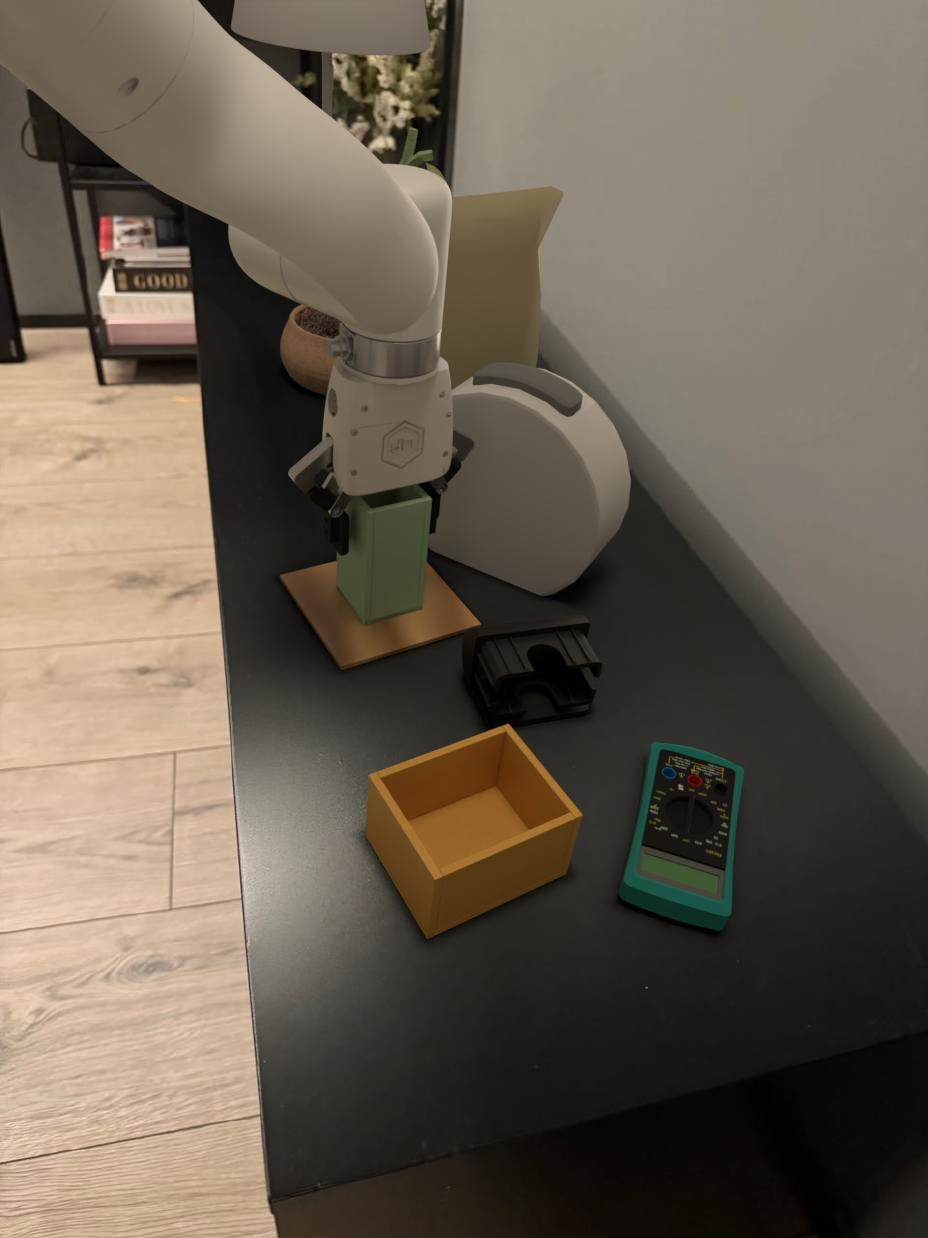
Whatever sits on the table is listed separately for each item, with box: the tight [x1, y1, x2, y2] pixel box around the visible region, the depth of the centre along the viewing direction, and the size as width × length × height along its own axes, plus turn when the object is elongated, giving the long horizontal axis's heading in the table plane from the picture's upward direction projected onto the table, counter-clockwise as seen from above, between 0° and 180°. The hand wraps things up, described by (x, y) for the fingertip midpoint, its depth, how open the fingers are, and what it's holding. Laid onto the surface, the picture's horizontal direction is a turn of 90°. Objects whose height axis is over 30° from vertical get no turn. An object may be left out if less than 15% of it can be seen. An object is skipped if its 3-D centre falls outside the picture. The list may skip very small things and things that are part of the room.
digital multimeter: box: [618, 741, 745, 931], centre depth 67 cm, size 7×15×3 cm, turn 163°
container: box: [440, 185, 564, 391], centre depth 99 cm, size 24×17×30 cm
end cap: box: [461, 614, 603, 730], centre depth 77 cm, size 10×7×7 cm
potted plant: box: [279, 127, 447, 396], centre depth 114 cm, size 22×18×30 cm
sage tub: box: [336, 484, 432, 626], centre depth 82 cm, size 6×6×12 cm
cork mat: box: [279, 560, 482, 671], centre depth 86 cm, size 14×14×1 cm
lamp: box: [230, 0, 431, 118], centre depth 143 cm, size 29×29×43 cm
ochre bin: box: [365, 724, 583, 940], centre depth 63 cm, size 11×9×7 cm
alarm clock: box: [428, 362, 632, 597], centre depth 88 cm, size 21×8×20 cm, turn 61°
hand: (381, 535), depth 81 cm, fingers open, 8 cm apart
